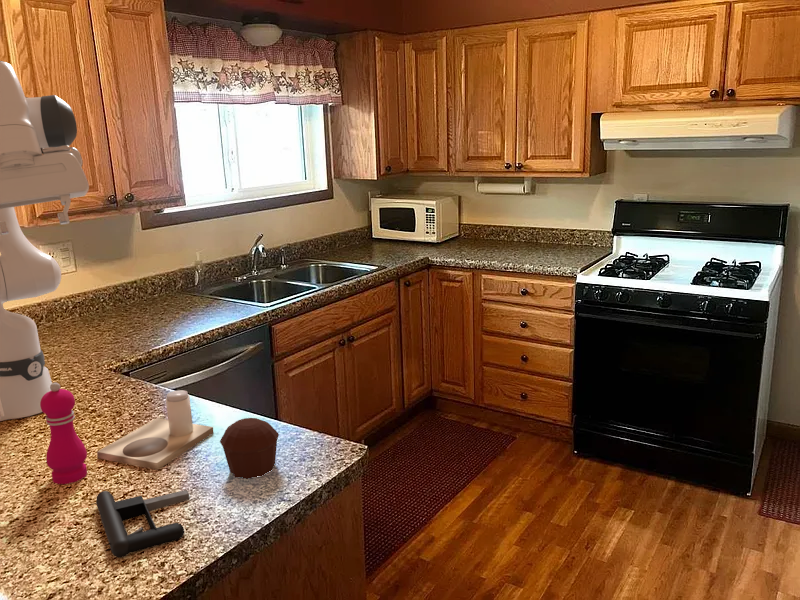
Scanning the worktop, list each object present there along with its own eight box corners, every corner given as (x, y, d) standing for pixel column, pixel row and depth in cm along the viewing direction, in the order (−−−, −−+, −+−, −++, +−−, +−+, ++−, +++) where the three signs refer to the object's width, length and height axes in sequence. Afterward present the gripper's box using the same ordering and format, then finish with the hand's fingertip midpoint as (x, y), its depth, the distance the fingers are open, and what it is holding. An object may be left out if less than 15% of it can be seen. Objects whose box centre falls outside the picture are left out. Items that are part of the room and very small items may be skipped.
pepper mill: (95, 467, 136) (81, 375, 131) (80, 485, 128) (64, 388, 124) (60, 468, 135) (44, 377, 131) (43, 486, 128) (25, 390, 124)
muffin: (293, 464, 134) (289, 419, 131) (250, 488, 125) (245, 439, 123) (254, 449, 141) (250, 406, 138) (211, 471, 132) (206, 424, 130)
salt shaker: (165, 434, 146) (160, 396, 144) (180, 425, 151) (175, 388, 148) (183, 437, 144) (178, 399, 142) (198, 428, 149) (193, 391, 147)
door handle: (178, 473, 128) (87, 493, 120) (207, 521, 111) (104, 548, 103) (179, 488, 129) (89, 510, 120) (208, 538, 112) (106, 567, 104)
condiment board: (97, 458, 139) (96, 451, 139) (157, 423, 156) (157, 417, 155) (157, 469, 134) (156, 462, 133) (213, 433, 150) (212, 426, 149)
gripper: (76, 150, 121) (98, 222, 121) (-55, 166, 110) (-32, 244, 110) (78, 137, 115) (101, 212, 115) (-60, 152, 105) (-35, 235, 105)
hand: (35, 228), depth 113 cm, fingers open, 8 cm apart
